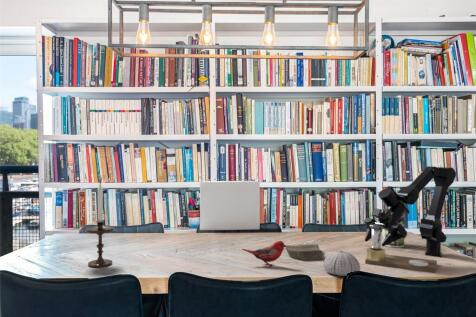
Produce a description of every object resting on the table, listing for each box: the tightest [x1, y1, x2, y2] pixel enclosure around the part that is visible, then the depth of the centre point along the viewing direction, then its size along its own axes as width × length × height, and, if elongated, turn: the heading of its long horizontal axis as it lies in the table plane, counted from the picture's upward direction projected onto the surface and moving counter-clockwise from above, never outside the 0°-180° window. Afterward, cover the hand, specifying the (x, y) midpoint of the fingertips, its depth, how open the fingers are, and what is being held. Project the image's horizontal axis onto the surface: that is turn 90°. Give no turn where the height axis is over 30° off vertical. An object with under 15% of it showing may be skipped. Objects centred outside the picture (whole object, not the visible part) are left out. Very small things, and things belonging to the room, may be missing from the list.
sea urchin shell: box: [322, 250, 361, 277], centre depth 143 cm, size 13×14×8 cm
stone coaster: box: [408, 260, 428, 266], centre depth 150 cm, size 7×7×1 cm
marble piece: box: [285, 243, 323, 261], centre depth 168 cm, size 17×15×4 cm
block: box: [199, 180, 261, 231], centre depth 231 cm, size 35×8×28 cm, turn 96°
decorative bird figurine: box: [241, 240, 288, 267], centre depth 153 cm, size 3×18×10 cm, turn 81°
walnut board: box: [364, 253, 438, 273], centre depth 155 cm, size 13×25×2 cm, turn 60°
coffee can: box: [381, 215, 406, 249], centre depth 188 cm, size 10×10×14 cm
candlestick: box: [85, 176, 116, 269], centre depth 154 cm, size 11×11×35 cm
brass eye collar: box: [366, 246, 386, 261], centre depth 157 cm, size 7×7×4 cm
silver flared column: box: [369, 224, 383, 251], centre depth 157 cm, size 5×5×14 cm
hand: (373, 243), depth 156 cm, fingers open, 9 cm apart
